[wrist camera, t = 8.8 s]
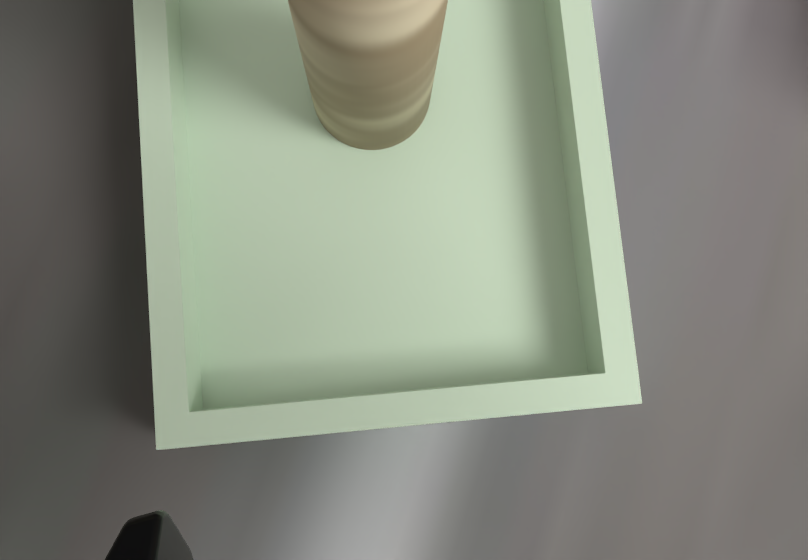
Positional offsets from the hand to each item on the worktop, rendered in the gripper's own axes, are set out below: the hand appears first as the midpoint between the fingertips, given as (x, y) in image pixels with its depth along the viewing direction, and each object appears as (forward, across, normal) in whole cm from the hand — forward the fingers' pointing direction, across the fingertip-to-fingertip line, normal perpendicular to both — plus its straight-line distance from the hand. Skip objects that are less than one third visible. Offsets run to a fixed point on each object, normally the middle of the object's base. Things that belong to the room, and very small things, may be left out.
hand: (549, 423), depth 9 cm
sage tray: (+13, 0, +3) cm, 14 cm away
